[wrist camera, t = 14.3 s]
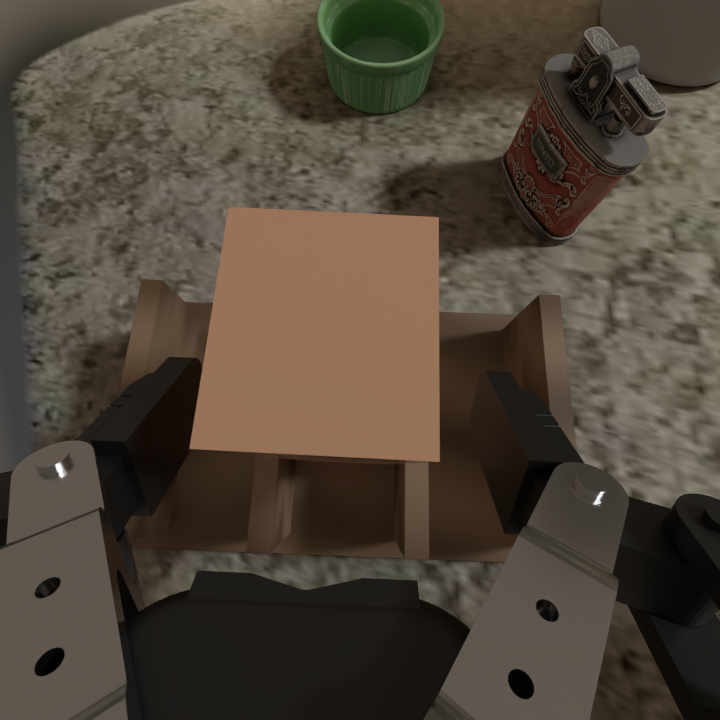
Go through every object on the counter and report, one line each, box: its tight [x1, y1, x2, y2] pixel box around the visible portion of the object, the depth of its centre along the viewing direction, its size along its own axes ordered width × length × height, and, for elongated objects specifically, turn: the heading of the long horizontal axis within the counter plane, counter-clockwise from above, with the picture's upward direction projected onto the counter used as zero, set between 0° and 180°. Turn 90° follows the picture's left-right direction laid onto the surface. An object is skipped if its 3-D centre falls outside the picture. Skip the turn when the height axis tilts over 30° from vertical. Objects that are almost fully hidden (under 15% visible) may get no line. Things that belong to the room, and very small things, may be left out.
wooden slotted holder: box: [118, 280, 576, 562], centre depth 21 cm, size 14×22×6 cm, turn 88°
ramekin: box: [317, 0, 445, 114], centre depth 29 cm, size 9×9×4 cm
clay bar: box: [189, 207, 440, 465], centre depth 14 cm, size 4×4×16 cm
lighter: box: [498, 27, 667, 246], centre depth 23 cm, size 8×3×10 cm, turn 22°
